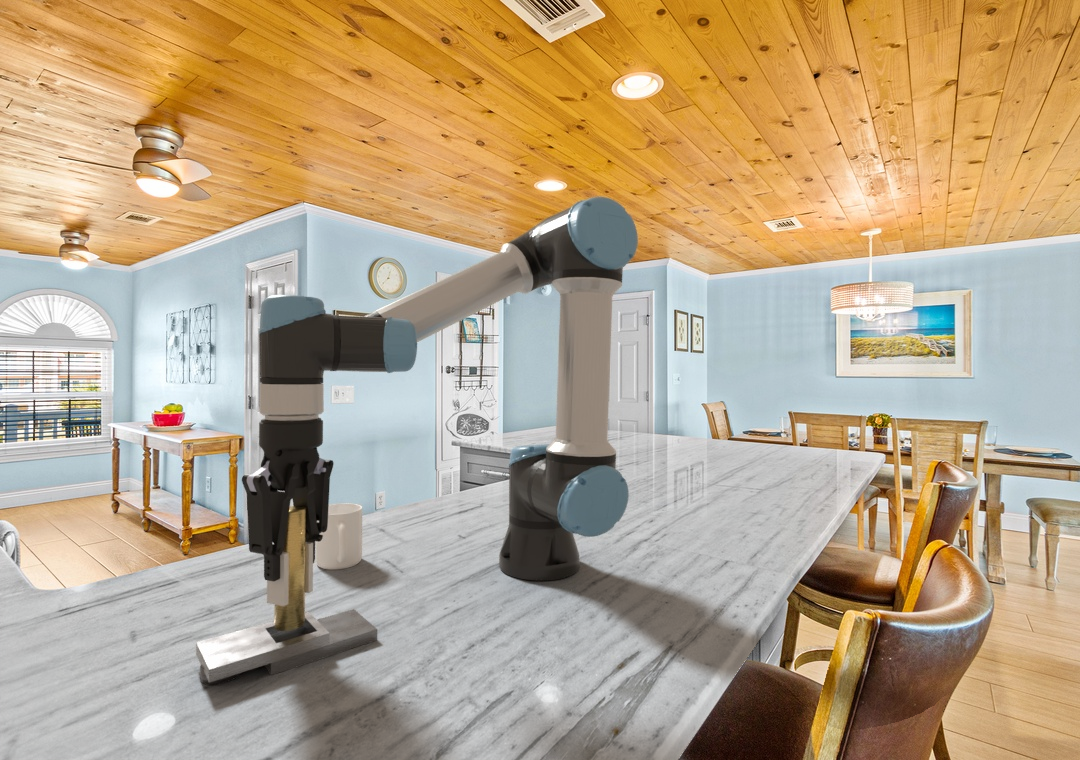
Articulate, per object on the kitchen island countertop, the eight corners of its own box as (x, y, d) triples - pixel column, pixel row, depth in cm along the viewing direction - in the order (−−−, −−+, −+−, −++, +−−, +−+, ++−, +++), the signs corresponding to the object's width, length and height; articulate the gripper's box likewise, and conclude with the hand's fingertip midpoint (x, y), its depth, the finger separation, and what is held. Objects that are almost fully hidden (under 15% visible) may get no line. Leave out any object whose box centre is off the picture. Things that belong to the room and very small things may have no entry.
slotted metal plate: (353, 619, 81) (353, 599, 81) (377, 639, 75) (377, 618, 75) (194, 666, 68) (194, 642, 68) (207, 696, 62) (207, 670, 62)
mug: (367, 573, 99) (367, 516, 99) (317, 580, 96) (317, 521, 95) (359, 552, 110) (359, 501, 110) (314, 558, 106) (314, 505, 106)
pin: (310, 620, 73) (311, 507, 72) (290, 632, 69) (291, 514, 69) (289, 616, 74) (290, 505, 73) (267, 628, 70) (268, 511, 70)
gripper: (314, 411, 80) (312, 570, 81) (212, 420, 64) (211, 619, 65) (357, 413, 78) (355, 578, 78) (262, 424, 62) (261, 630, 62)
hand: (290, 596), depth 71 cm, fingers closed on pin, 4 cm apart
